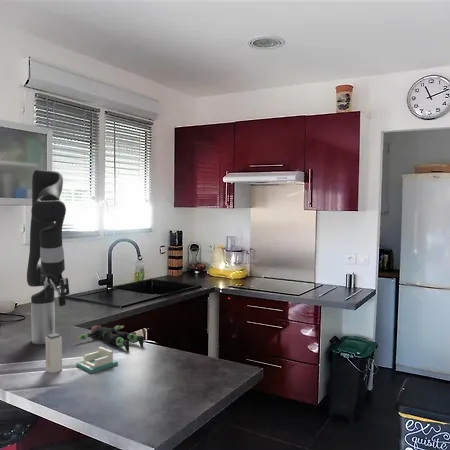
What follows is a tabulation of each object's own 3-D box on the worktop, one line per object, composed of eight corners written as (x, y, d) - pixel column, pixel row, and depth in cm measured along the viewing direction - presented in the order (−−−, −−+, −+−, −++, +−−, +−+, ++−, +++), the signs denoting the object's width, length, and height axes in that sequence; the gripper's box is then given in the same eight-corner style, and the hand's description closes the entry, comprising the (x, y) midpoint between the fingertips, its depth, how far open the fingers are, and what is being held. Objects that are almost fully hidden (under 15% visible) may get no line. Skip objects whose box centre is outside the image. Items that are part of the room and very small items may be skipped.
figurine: (158, 342, 192) (116, 331, 211) (158, 327, 192) (115, 318, 211) (109, 357, 172) (67, 344, 192) (108, 342, 172) (66, 330, 191)
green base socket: (76, 366, 163) (76, 352, 162) (102, 358, 171) (102, 345, 171) (91, 373, 156) (91, 358, 156) (117, 364, 164) (117, 350, 164)
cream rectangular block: (44, 371, 158) (43, 335, 157) (56, 367, 161) (56, 332, 161) (49, 373, 155) (49, 337, 155) (62, 370, 159) (61, 334, 158)
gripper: (31, 255, 153) (34, 299, 158) (53, 266, 145) (57, 311, 149) (51, 250, 159) (54, 292, 163) (74, 260, 150) (76, 304, 155)
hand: (55, 301), depth 156 cm, fingers open, 8 cm apart
